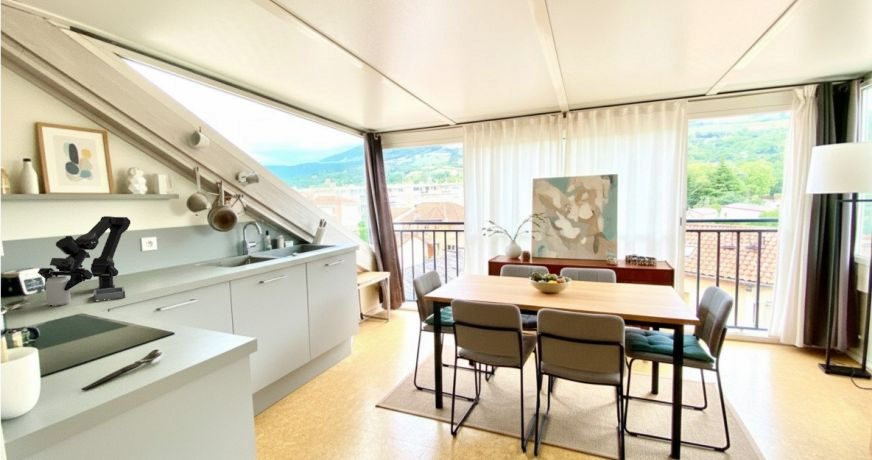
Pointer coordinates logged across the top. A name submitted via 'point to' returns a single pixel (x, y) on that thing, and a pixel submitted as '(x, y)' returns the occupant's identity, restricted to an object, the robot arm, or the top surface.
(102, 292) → the tray
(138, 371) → the top surface
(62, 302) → the can
